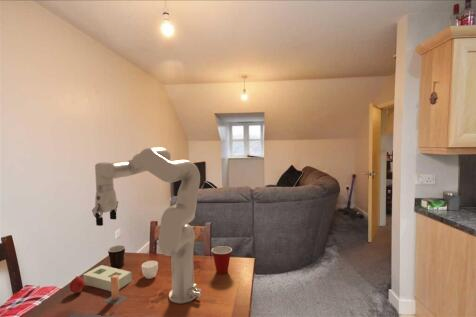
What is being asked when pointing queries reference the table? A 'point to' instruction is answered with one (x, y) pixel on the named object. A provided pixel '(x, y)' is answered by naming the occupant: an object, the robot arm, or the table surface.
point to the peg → (115, 287)
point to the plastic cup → (221, 258)
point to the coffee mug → (117, 256)
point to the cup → (149, 269)
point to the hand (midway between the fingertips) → (106, 222)
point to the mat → (109, 300)
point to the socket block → (106, 277)
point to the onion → (77, 285)
